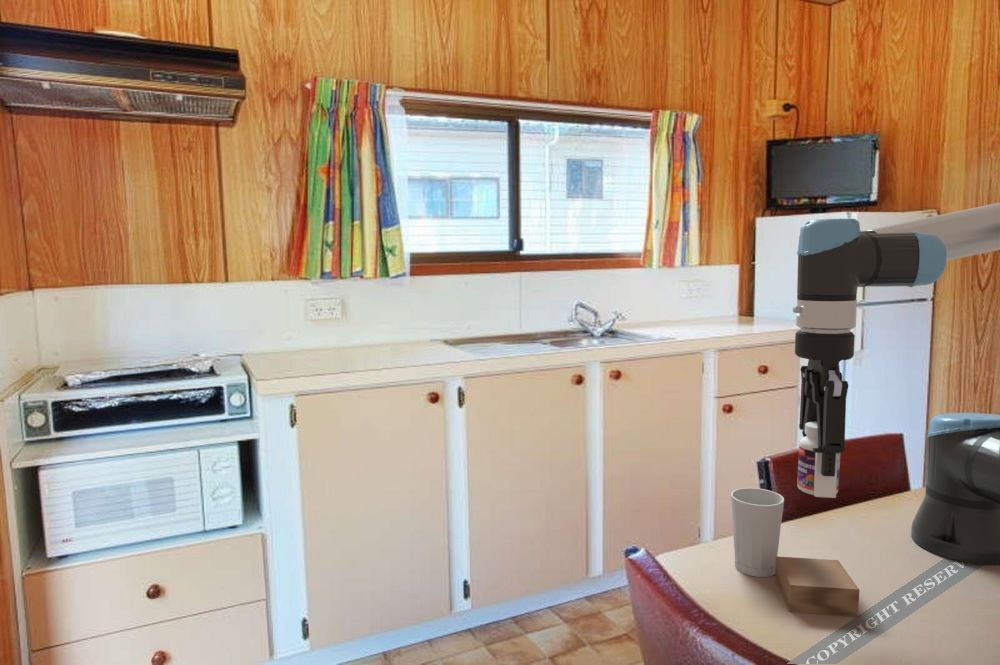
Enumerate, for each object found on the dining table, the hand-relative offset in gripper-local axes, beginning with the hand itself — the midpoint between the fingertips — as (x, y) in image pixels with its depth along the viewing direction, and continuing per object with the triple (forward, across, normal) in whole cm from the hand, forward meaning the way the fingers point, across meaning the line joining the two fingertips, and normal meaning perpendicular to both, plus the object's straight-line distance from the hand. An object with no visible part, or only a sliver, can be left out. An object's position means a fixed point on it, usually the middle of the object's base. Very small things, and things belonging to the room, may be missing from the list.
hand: (818, 488), depth 95 cm
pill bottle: (+1, 0, 0) cm, 1 cm away
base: (+17, 0, 0) cm, 17 cm away
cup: (+17, -9, -7) cm, 20 cm away
